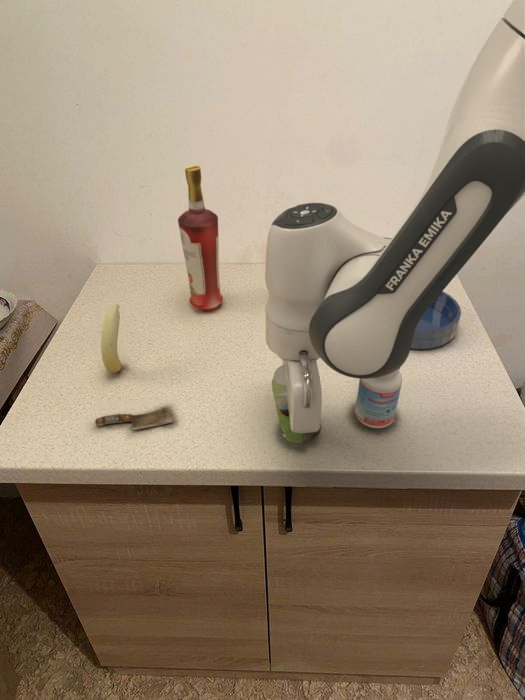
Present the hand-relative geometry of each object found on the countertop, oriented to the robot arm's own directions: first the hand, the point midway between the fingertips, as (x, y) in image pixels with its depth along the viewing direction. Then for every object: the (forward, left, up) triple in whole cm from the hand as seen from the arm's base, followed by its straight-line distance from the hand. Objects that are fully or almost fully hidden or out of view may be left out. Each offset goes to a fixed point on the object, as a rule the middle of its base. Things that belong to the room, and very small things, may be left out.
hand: (296, 406), depth 73 cm
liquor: (+15, -36, -5) cm, 39 cm away
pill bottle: (-13, -2, -5) cm, 14 cm away
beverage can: (0, 0, -5) cm, 5 cm away
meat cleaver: (+25, -4, -5) cm, 26 cm away
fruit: (+29, -16, -5) cm, 34 cm away
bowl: (-25, -26, -5) cm, 36 cm away
